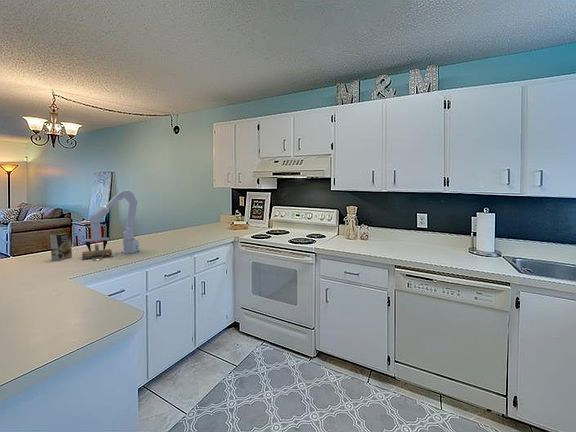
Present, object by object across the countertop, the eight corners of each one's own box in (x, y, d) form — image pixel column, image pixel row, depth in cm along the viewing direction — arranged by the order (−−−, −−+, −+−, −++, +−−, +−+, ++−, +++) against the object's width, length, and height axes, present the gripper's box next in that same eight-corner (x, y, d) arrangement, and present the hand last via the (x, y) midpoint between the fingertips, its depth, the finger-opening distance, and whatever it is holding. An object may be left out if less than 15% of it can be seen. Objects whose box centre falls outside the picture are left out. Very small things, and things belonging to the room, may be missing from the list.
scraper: (92, 255, 203) (91, 244, 202) (102, 254, 206) (101, 244, 205) (91, 260, 190) (91, 249, 189) (103, 259, 193) (102, 248, 193)
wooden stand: (82, 257, 195) (82, 251, 194) (111, 254, 203) (111, 249, 203) (82, 260, 189) (82, 254, 189) (111, 257, 198) (111, 251, 197)
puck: (104, 259, 192) (104, 258, 192) (97, 262, 187) (97, 260, 187) (97, 259, 193) (97, 257, 192) (90, 261, 188) (90, 259, 188)
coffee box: (59, 260, 188) (57, 235, 186) (51, 259, 189) (49, 234, 187) (72, 257, 197) (70, 232, 195) (64, 256, 198) (62, 232, 196)
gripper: (108, 230, 208) (109, 249, 210) (83, 232, 200) (84, 252, 202) (108, 232, 202) (109, 251, 204) (82, 233, 195) (84, 254, 196)
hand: (97, 252), depth 203 cm, fingers open, 7 cm apart
